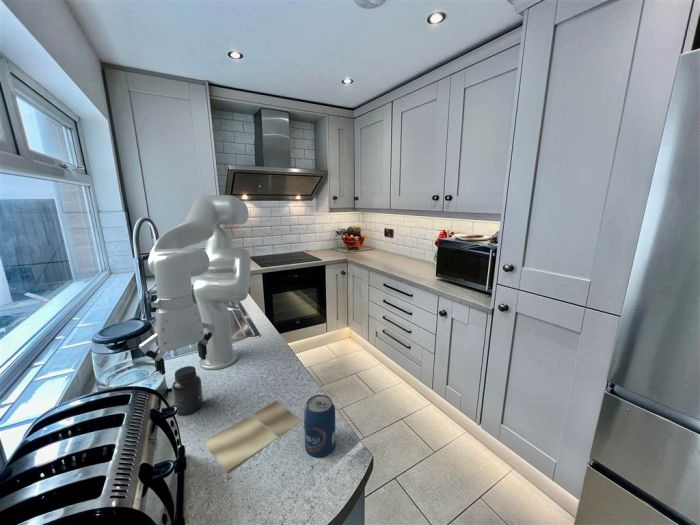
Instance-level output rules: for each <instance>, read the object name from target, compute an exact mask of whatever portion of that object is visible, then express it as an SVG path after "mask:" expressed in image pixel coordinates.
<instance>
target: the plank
mask: <svg viewBox="0 0 700 525" xmlns="http://www.w3.org/2000/svg"><path fill="white" fill-rule="evenodd" d="M277 439H278V436H277V435H275V434H274V433H273V432H272V431H271V430H270V429H269V428H268V427H267V426H265V425H264V424H263V423H262V422H261V421H260V420H259V419H258V418H257V417H256V416H254V415H253V414H251V415H248V416H247V417H245V418H243V419H242V420H240V421H238V422H236V423H234V424H233V425H231V426H229V427H226V429H223V430H221V431H220V432H218V433H216V434H215V435H213V436H211V437H209V438H207V439H205V440H204V441H203V444H204V446H206V447H207V449H208V450H209V452H210V453H211V454H212V455H213V457H214V458H215V459H216V461H217V462H218V463H219V465H220V467H222V468H223V470H224V471H225V472H226V473H227V474H229V473H230V472H231V471H232V470H234V469H236V468H237V467H238V466H239V465H241V464H242V463H244V462H246V461H247V460H248V459H250V458H252V456H254V455H255V454H257V453H258V452H260V451H261V450H263V449H264V448H265V447H267V446H269V445H270V444H271V443H273V442H274V441H276V440H277Z"/></svg>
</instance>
